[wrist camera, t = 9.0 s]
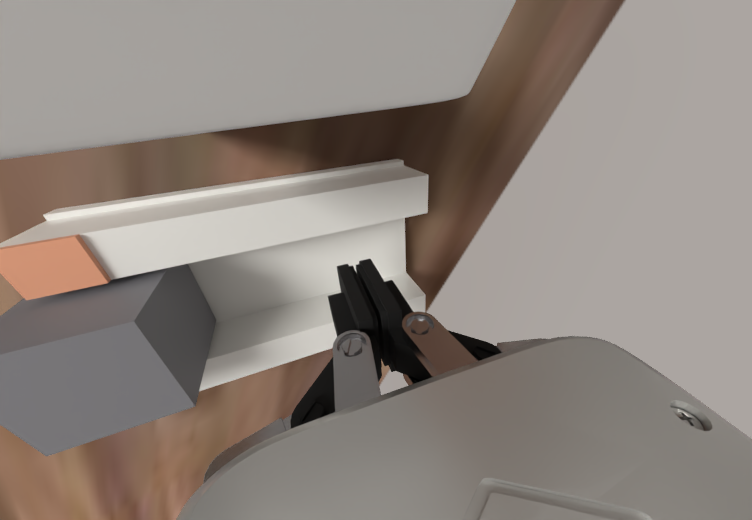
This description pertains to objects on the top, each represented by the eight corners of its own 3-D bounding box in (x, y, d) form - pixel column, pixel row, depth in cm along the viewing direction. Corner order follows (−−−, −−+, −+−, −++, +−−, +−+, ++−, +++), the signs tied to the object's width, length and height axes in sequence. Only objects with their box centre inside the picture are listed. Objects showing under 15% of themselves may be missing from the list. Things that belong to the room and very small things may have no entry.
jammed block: (180, 248, 16) (133, 321, 10) (216, 320, 19) (195, 406, 13) (56, 273, 15) (-75, 373, 9) (117, 346, 18) (46, 456, 12)
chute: (397, 158, 19) (431, 170, 15) (401, 290, 25) (426, 323, 21) (55, 208, 14) (-26, 246, 10) (163, 358, 20) (138, 418, 16)
